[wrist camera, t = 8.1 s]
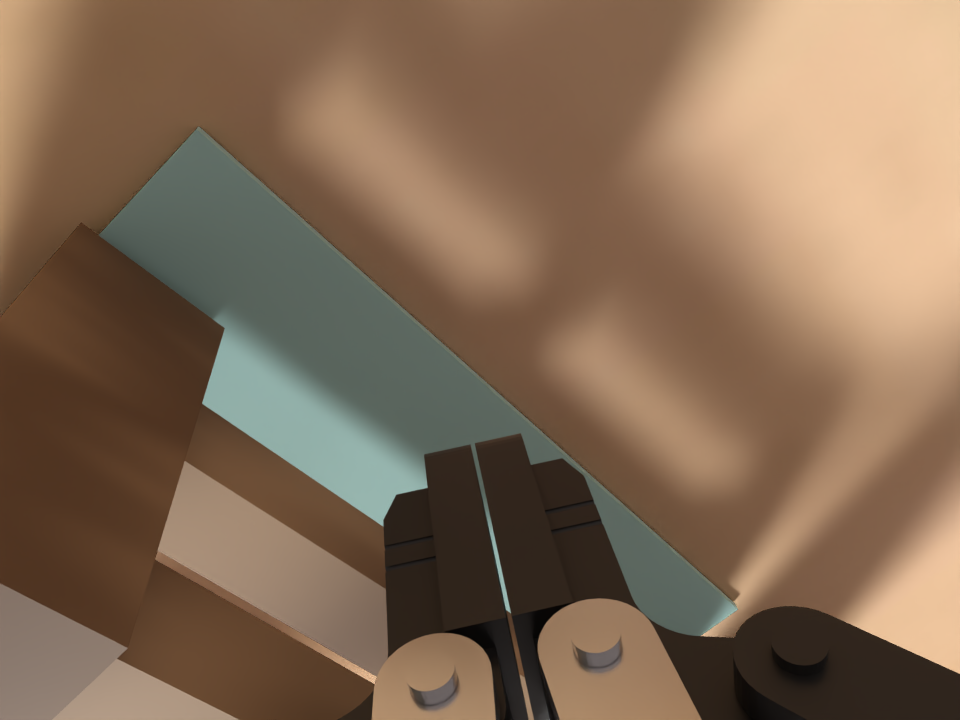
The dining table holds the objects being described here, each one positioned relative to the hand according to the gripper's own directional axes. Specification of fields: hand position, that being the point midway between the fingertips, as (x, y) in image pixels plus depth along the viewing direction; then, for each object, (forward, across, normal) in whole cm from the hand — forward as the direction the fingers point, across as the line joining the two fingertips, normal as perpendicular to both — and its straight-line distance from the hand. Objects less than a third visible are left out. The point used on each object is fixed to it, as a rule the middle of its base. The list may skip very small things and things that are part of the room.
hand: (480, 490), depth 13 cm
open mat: (+4, +1, +3) cm, 5 cm away
